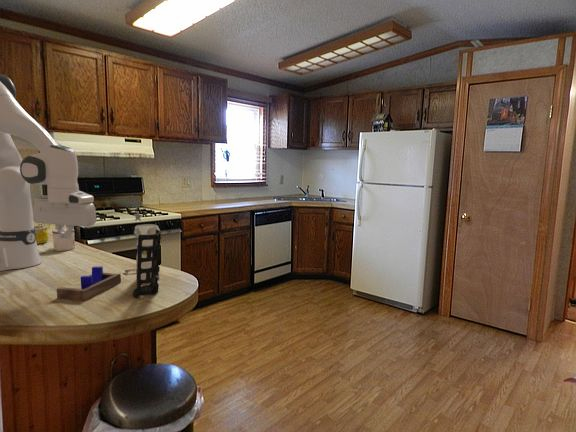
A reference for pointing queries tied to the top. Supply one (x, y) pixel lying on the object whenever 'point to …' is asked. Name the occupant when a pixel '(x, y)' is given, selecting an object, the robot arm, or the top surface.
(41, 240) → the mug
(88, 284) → the cable clip
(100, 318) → the top surface
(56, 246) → the teacup with lid
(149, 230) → the water bottle
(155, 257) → the holder
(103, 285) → the bracket
